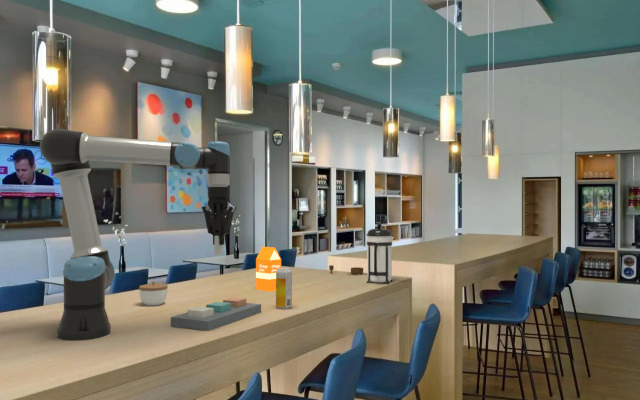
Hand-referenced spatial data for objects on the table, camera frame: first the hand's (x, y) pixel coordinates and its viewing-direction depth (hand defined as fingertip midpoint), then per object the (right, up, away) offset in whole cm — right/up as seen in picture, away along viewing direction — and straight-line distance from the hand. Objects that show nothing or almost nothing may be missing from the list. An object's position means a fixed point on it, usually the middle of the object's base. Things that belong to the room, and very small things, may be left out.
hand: (218, 254), depth 189 cm
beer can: (+21, -23, +20) cm, 37 cm away
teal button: (0, -20, 0) cm, 20 cm away
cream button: (-4, -20, -9) cm, 22 cm away
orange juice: (+12, -23, +61) cm, 66 cm away
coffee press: (+65, -23, +81) cm, 106 cm away
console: (0, -22, 0) cm, 22 cm away
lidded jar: (-30, -23, +25) cm, 45 cm away
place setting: (+52, -24, +114) cm, 128 cm away
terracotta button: (+4, -20, +9) cm, 22 cm away
